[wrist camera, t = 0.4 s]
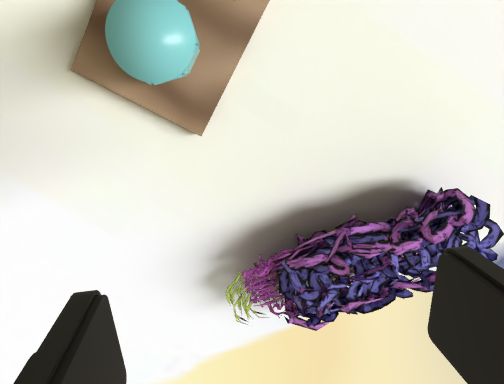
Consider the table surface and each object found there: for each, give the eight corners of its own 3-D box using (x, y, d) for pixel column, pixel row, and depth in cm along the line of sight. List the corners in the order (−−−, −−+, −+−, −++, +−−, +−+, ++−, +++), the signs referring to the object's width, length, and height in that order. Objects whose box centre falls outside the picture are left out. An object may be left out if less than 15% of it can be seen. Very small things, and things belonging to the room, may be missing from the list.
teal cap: (143, -12, 27) (125, -33, 21) (209, 29, 29) (209, 19, 23) (115, 58, 28) (91, 55, 23) (180, 93, 30) (173, 98, 24)
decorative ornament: (497, 298, 38) (247, 376, 37) (437, 236, 47) (232, 297, 45) (535, 214, 30) (216, 310, 29) (455, 156, 38) (205, 228, 37)
